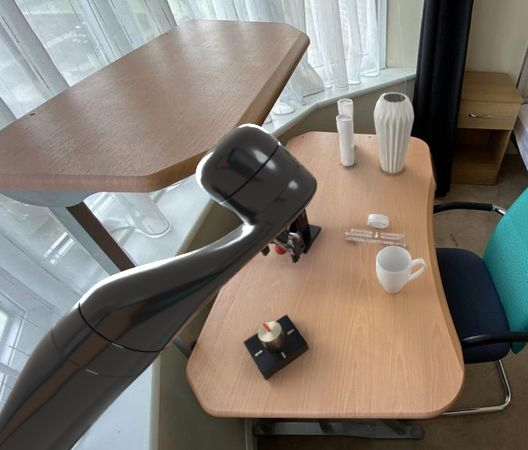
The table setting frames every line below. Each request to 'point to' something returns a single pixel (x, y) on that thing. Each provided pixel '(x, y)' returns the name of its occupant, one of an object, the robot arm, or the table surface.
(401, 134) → the vase
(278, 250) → the red knob lever
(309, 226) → the lever bracket
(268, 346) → the dial
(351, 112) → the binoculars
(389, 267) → the mug
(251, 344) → the dial panel
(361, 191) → the table surface
